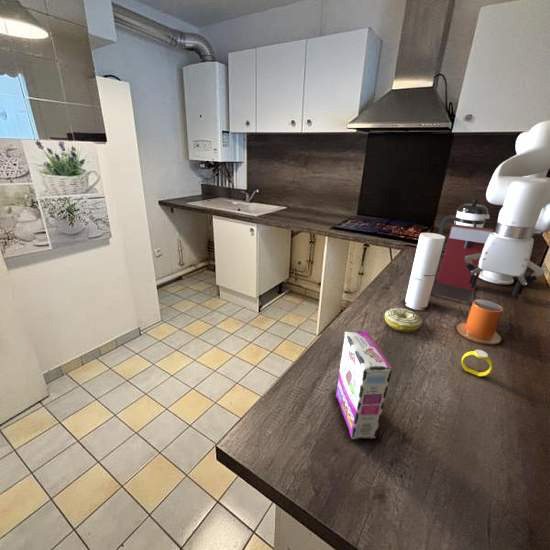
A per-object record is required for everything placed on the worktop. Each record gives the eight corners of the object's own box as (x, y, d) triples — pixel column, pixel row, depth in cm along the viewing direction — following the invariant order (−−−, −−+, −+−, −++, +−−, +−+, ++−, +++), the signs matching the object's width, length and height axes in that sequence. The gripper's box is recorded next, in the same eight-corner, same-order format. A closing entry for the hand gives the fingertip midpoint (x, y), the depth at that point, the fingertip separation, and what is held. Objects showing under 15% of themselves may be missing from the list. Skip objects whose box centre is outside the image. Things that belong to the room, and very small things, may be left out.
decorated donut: (425, 324, 90) (428, 313, 89) (413, 339, 83) (416, 327, 81) (392, 312, 97) (394, 302, 95) (378, 324, 89) (380, 314, 88)
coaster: (484, 323, 91) (484, 322, 91) (510, 345, 81) (510, 343, 81) (449, 323, 91) (449, 321, 91) (470, 344, 81) (471, 343, 81)
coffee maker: (438, 280, 122) (452, 224, 113) (474, 288, 115) (493, 229, 106) (430, 295, 109) (447, 232, 100) (471, 305, 102) (492, 239, 93)
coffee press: (468, 255, 154) (485, 197, 143) (481, 265, 140) (501, 202, 128) (433, 252, 158) (447, 195, 146) (441, 262, 143) (457, 200, 132)
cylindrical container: (429, 311, 98) (448, 239, 88) (407, 308, 99) (423, 237, 89) (423, 301, 104) (440, 233, 95) (402, 299, 106) (417, 232, 96)
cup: (465, 322, 91) (473, 297, 87) (493, 330, 87) (503, 304, 83) (463, 333, 85) (472, 306, 82) (493, 342, 81) (503, 314, 78)
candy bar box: (378, 439, 54) (394, 368, 47) (351, 440, 53) (364, 369, 47) (357, 392, 64) (368, 329, 57) (335, 394, 63) (343, 330, 57)
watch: (458, 370, 71) (464, 350, 69) (459, 364, 73) (466, 345, 71) (487, 381, 68) (495, 361, 65) (488, 375, 70) (496, 355, 68)
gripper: (556, 233, 72) (531, 294, 79) (474, 223, 81) (458, 278, 88) (560, 240, 67) (533, 305, 74) (472, 229, 76) (455, 287, 83)
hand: (492, 291), depth 81 cm, fingers open, 9 cm apart
